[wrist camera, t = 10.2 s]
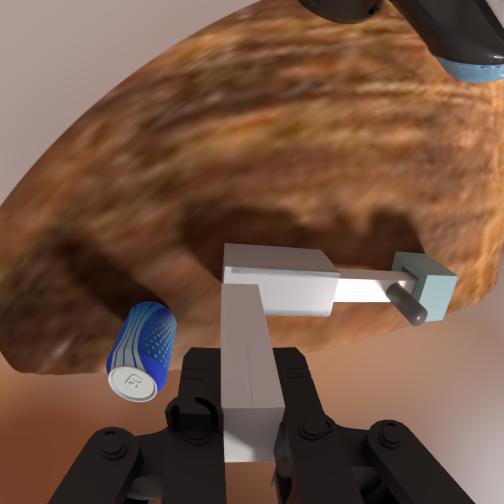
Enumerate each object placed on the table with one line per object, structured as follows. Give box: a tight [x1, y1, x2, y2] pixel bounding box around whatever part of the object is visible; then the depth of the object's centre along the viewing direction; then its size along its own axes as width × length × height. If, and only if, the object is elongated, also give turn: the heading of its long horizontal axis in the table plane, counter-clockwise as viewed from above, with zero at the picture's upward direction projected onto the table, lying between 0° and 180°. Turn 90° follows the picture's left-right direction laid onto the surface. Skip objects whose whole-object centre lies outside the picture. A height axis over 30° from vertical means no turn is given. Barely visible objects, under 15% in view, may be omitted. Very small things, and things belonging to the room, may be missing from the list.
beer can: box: [106, 302, 177, 402], centre depth 41 cm, size 8×8×16 cm
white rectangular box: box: [222, 243, 340, 316], centre depth 43 cm, size 7×15×9 cm, turn 84°
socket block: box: [391, 251, 458, 321], centre depth 45 cm, size 8×7×10 cm
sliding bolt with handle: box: [333, 269, 428, 326], centre depth 40 cm, size 4×24×11 cm, turn 84°
